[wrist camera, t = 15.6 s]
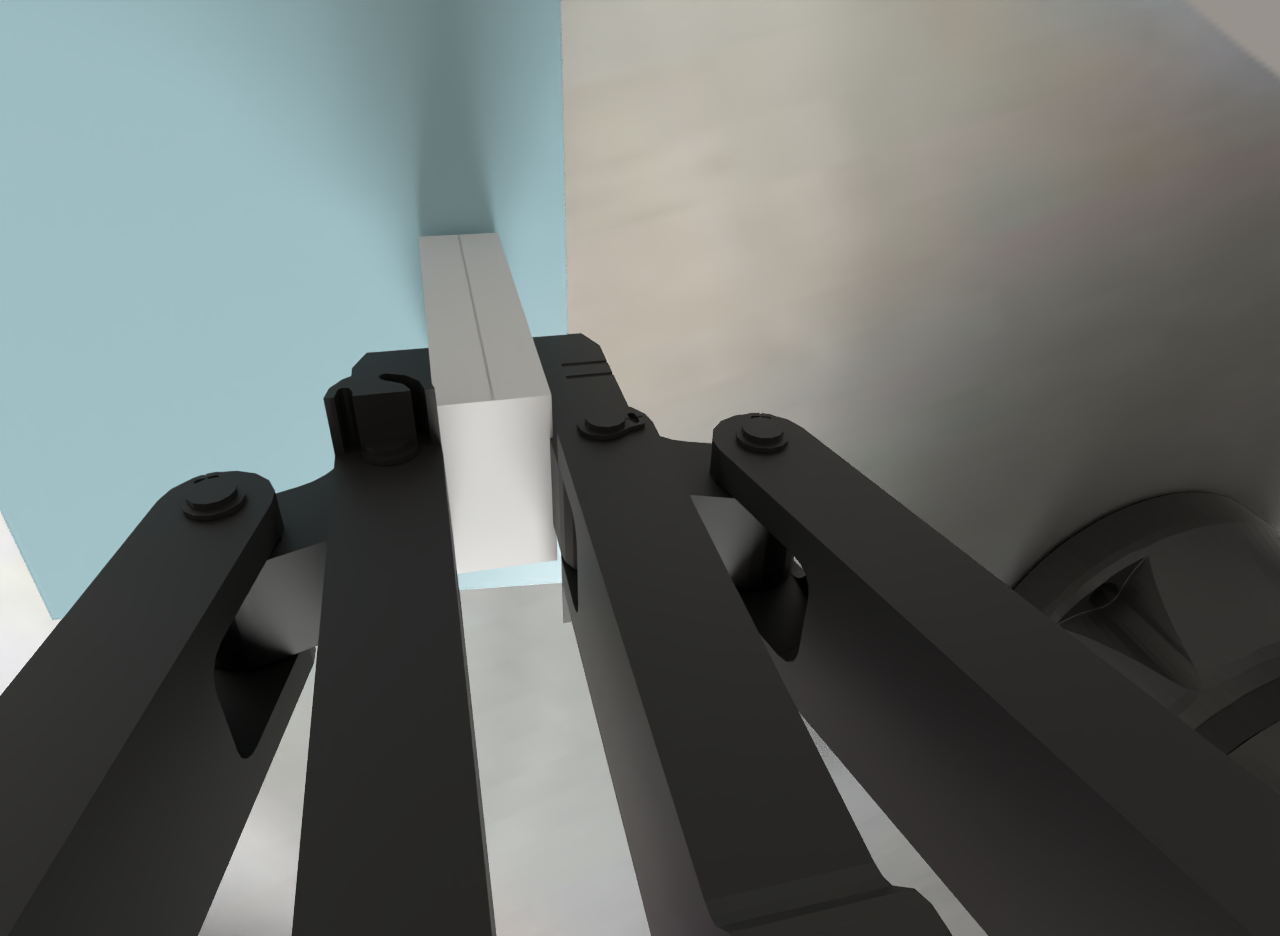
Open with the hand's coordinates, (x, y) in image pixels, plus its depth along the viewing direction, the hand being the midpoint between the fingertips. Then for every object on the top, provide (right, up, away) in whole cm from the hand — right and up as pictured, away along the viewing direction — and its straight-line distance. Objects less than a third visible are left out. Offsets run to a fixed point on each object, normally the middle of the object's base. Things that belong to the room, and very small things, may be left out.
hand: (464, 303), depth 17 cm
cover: (-4, 0, 0) cm, 4 cm away
